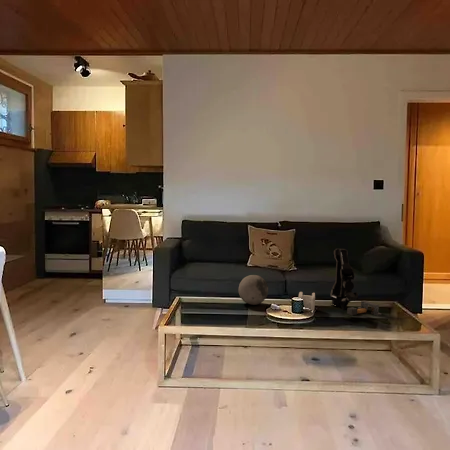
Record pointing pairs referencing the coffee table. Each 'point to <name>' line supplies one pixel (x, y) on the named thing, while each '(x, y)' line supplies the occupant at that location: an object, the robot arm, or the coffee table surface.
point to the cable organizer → (308, 300)
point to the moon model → (253, 289)
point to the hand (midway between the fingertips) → (343, 310)
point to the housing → (373, 307)
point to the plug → (355, 311)
